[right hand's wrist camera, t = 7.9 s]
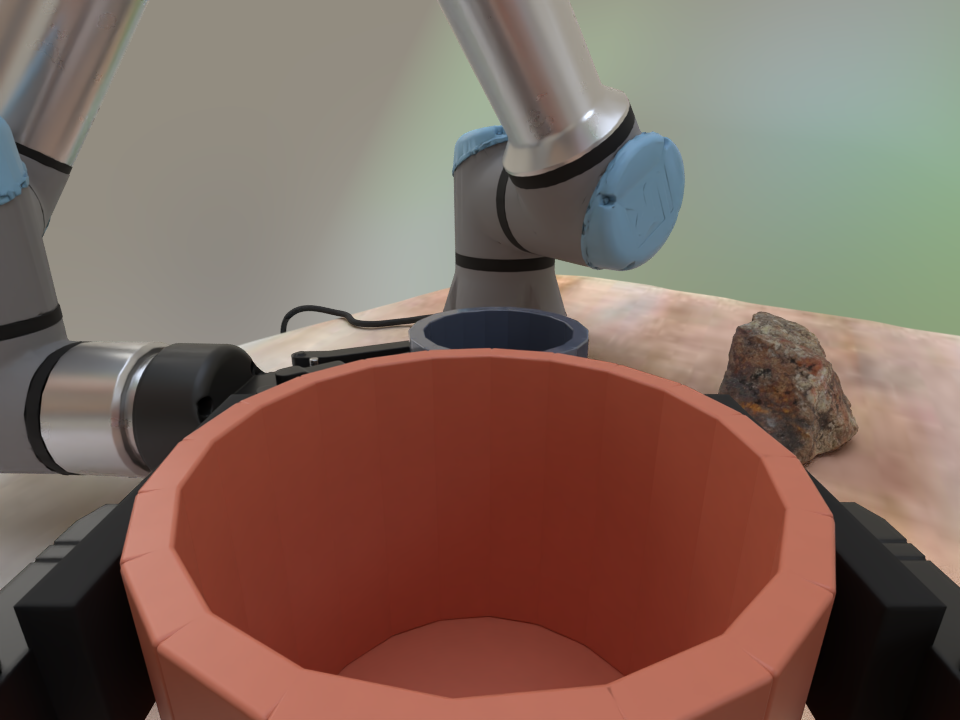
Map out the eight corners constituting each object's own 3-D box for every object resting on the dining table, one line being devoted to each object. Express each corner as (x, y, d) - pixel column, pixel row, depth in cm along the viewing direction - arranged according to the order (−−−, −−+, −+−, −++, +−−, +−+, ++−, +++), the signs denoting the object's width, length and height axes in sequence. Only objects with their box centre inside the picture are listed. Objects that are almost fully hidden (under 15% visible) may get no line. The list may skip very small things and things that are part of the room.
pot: (758, 721, 14) (833, 402, 11) (656, 1525, 6) (848, 1139, 3) (425, 576, 18) (415, 325, 16) (113, 905, 10) (-34, 513, 7)
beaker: (596, 511, 35) (613, 320, 30) (532, 609, 27) (542, 374, 23) (470, 471, 39) (469, 299, 35) (384, 547, 32) (370, 339, 27)
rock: (677, 439, 45) (810, 492, 38) (685, 339, 42) (833, 377, 35) (761, 381, 53) (883, 415, 46) (774, 294, 50) (907, 317, 43)
